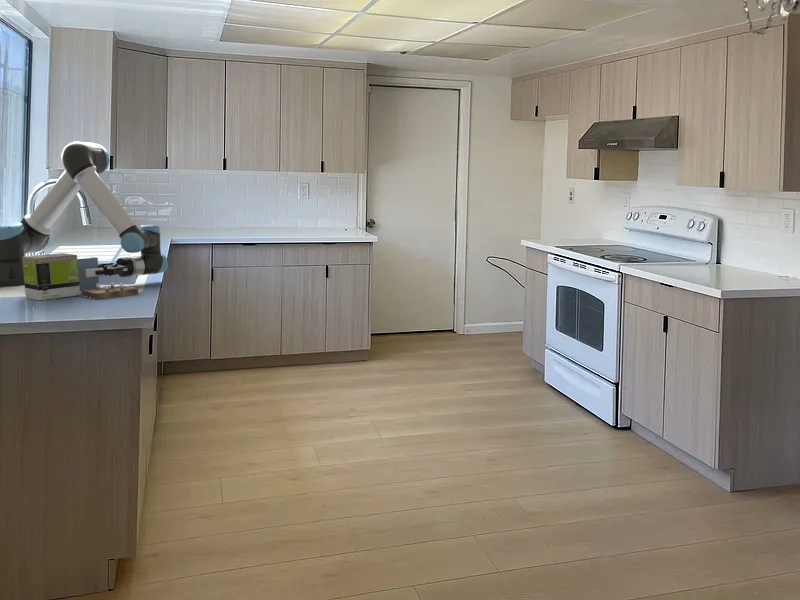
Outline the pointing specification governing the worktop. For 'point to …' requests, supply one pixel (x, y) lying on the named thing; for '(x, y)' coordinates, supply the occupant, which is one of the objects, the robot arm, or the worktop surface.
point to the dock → (109, 292)
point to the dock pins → (108, 286)
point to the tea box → (51, 276)
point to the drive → (84, 264)
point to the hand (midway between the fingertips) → (76, 271)
